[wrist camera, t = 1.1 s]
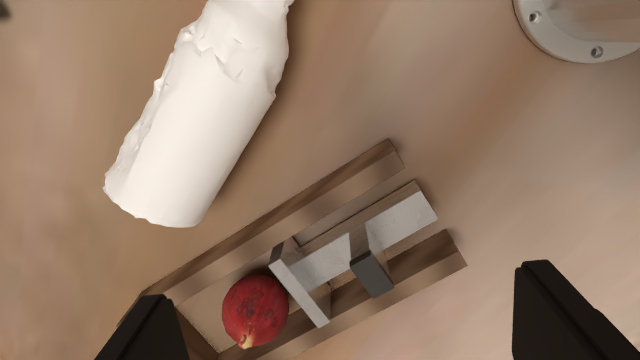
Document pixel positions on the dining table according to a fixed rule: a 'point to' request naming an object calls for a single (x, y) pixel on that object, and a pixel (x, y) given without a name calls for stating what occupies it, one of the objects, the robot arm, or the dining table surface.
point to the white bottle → (201, 112)
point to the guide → (285, 221)
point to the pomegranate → (255, 310)
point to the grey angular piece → (350, 251)
